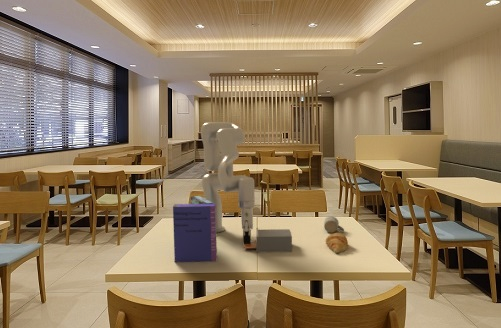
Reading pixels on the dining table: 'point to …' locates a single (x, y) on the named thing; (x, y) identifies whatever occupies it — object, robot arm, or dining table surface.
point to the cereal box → (195, 232)
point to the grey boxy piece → (274, 240)
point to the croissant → (337, 242)
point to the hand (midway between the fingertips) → (247, 241)
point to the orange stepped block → (252, 244)
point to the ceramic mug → (332, 225)
